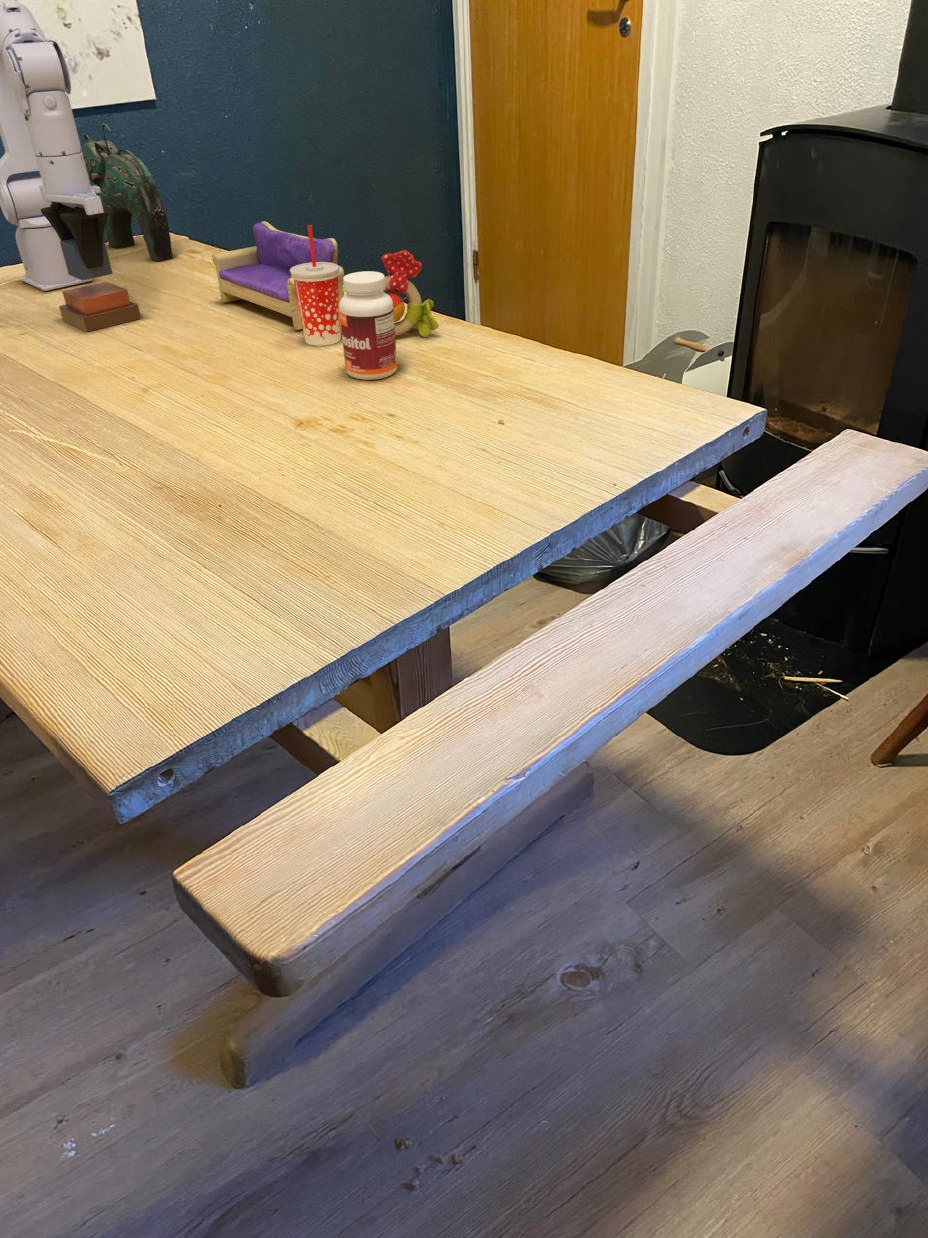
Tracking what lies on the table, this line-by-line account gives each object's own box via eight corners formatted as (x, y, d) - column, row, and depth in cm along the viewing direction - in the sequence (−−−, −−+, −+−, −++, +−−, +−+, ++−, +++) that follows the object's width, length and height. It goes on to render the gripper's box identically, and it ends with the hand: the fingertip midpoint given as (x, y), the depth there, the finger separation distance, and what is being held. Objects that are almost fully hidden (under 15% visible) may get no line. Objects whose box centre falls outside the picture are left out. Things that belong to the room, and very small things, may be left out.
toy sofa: (218, 302, 133) (204, 228, 127) (268, 289, 138) (257, 217, 132) (298, 333, 120) (287, 252, 114) (350, 318, 125) (342, 240, 119)
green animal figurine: (99, 245, 164) (68, 120, 152) (132, 239, 167) (104, 116, 156) (151, 264, 152) (122, 130, 140) (186, 256, 156) (160, 125, 144)
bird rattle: (397, 362, 116) (456, 324, 116) (356, 285, 109) (418, 245, 109) (382, 348, 121) (438, 311, 121) (341, 273, 114) (401, 235, 114)
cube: (68, 274, 124) (59, 241, 122) (98, 268, 127) (90, 235, 124) (82, 280, 122) (73, 246, 119) (112, 273, 124) (104, 239, 122)
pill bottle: (335, 373, 107) (324, 278, 101) (371, 359, 111) (363, 266, 105) (372, 385, 104) (363, 287, 98) (408, 369, 108) (402, 274, 101)
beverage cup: (354, 341, 117) (343, 225, 109) (311, 350, 114) (296, 233, 106) (334, 329, 121) (321, 217, 113) (292, 338, 119) (276, 224, 110)
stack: (62, 320, 128) (54, 291, 126) (115, 307, 132) (108, 279, 130) (87, 332, 123) (79, 302, 121) (141, 318, 127) (134, 289, 125)
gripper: (113, 154, 113) (139, 266, 121) (65, 144, 122) (92, 249, 130) (58, 162, 109) (89, 278, 117) (13, 150, 118) (44, 259, 126)
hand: (87, 263), depth 123 cm, fingers closed on cube, 4 cm apart
